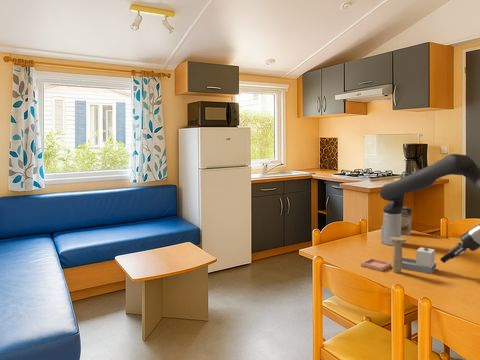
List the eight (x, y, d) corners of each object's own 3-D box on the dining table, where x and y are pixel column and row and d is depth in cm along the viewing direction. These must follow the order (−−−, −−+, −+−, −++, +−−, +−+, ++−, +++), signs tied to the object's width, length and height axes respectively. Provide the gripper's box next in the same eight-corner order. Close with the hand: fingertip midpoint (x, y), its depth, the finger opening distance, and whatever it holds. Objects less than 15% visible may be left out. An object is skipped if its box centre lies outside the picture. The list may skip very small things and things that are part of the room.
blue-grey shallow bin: (396, 267, 175) (396, 261, 175) (401, 262, 182) (402, 257, 181) (431, 273, 166) (431, 268, 166) (435, 268, 173) (435, 263, 172)
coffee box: (394, 234, 233) (394, 207, 231) (394, 231, 239) (395, 205, 237) (410, 235, 229) (411, 208, 227) (410, 232, 235) (411, 206, 233)
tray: (361, 266, 178) (361, 262, 177) (370, 261, 184) (370, 257, 184) (381, 271, 170) (381, 267, 170) (391, 266, 176) (391, 262, 176)
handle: (388, 269, 173) (389, 236, 171) (404, 270, 171) (405, 237, 169) (389, 273, 168) (390, 239, 166) (405, 274, 166) (406, 240, 165)
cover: (415, 266, 171) (416, 249, 170) (419, 262, 176) (420, 245, 175) (430, 268, 167) (431, 251, 166) (434, 264, 172) (434, 247, 171)
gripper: (471, 226, 164) (438, 250, 173) (466, 233, 154) (431, 257, 163) (485, 241, 162) (451, 263, 171) (481, 248, 151) (445, 272, 161)
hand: (442, 260), depth 167 cm, fingers closed
